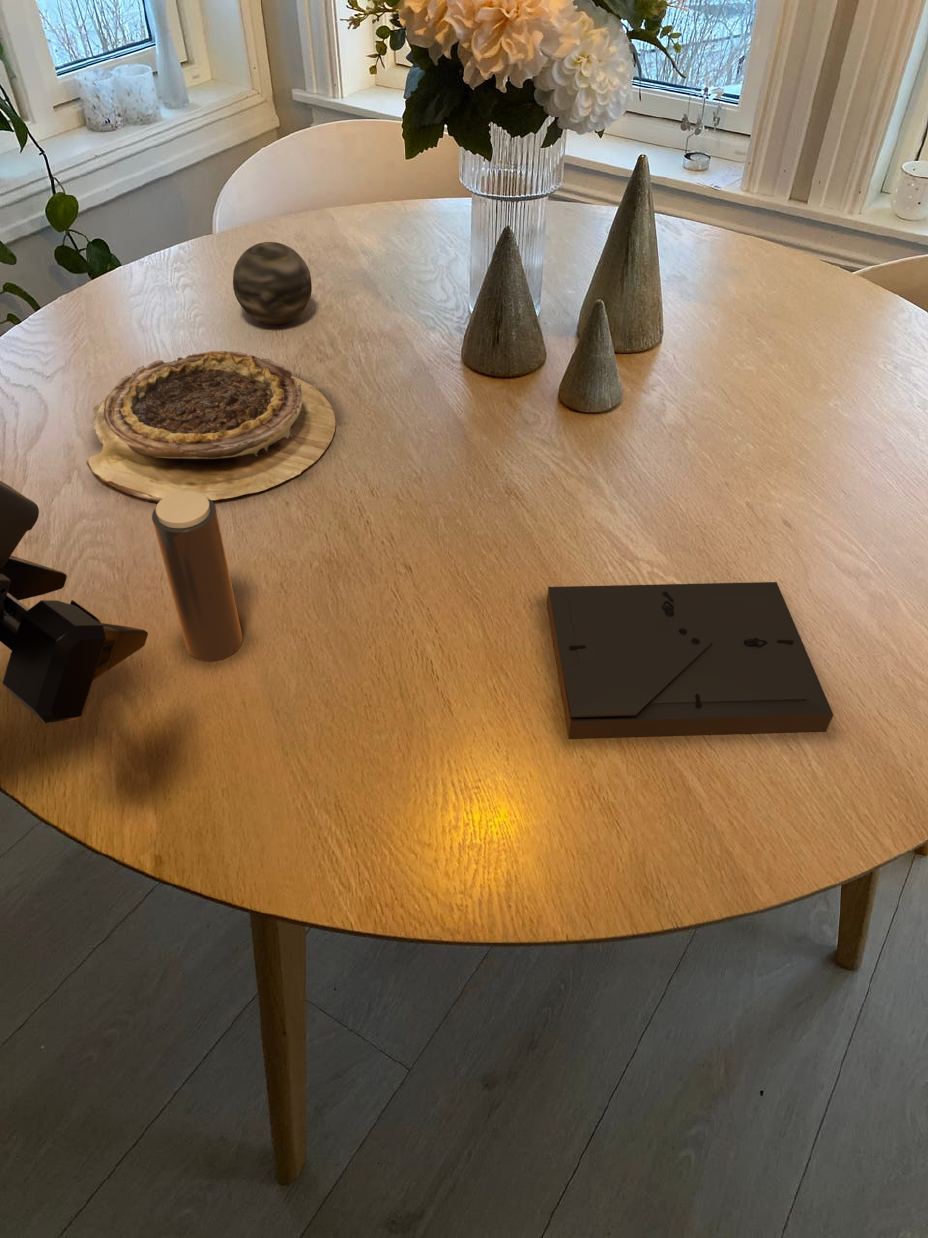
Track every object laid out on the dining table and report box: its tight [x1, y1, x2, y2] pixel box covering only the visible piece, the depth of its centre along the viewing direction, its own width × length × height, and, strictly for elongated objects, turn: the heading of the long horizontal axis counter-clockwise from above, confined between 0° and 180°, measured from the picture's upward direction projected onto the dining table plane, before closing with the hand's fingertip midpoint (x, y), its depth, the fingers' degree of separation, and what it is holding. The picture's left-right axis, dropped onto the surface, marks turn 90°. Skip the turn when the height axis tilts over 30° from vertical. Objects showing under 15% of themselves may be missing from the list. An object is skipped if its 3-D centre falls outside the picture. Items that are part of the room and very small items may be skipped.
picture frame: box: [546, 581, 834, 740], centre depth 81 cm, size 16×3×21 cm
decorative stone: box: [232, 241, 313, 325], centre depth 123 cm, size 10×10×10 cm
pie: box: [86, 350, 337, 503], centre depth 105 cm, size 28×27×5 cm
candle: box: [151, 491, 243, 662], centre depth 78 cm, size 5×5×15 cm
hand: (103, 608), depth 66 cm, fingers open, 9 cm apart
